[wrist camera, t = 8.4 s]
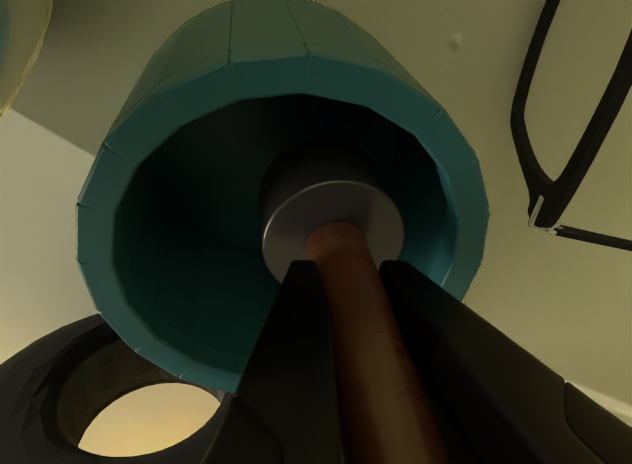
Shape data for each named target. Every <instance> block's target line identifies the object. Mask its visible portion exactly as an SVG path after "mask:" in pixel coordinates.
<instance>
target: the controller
mask: <svg viewBox="0 0 632 464" xmlns="http://www.w3.org/2000/svg"><path fill="white" fill-rule="evenodd" d="M161 383H182V384H189V385H193V386H196V387H199V388H202V389H204V390H205V391H207V392H209V393H211V394H212V395H213V396H214V397H216V398H217V399H218V401H219V402H220V403H221V405H220V407H219V408H218V409H217V411H216V412H215V414H214V415H213V416H212V417H211V419H210V420H209V421H208V422H207V423H206V424H205V425H204V426H203V427H201V428H200V429H199V430H198V431H196V432H195V433H194V434H192V435H191V436H190V437H188V438H187V439H185V440H183V441H181V442H179V443H177V444H175V445H173V446H171V447H168V448H166V449H164V450H161V451H157V452H154V453H150V454H144V455H139V456H133V457H108V456H101V455H97V454H92V453H89V452H87V451H84V450H81V449H80V448H78V444H79V442H80V440H81V438H82V436H83V434H84V432H85V430H86V429H87V428H88V426H89V425H90V424H91V422H92V421H93V420H94V419H95V418H96V416H97V415H98V414H99V413H100V412H101V411H102V410H104V409H105V408H106V407H107V406H109V405H110V404H111V403H112V402H114V401H115V400H117V399H119V398H120V397H122V396H124V395H126V394H128V393H129V392H132V391H135V390H137V389H140V388H143V387H145V386H150V385H155V384H161ZM233 397H234V393H229V392H224V391H220V390H217V389H214V388H210V387H207V386H203V385H200V384H196V383H193V382H190V381H186V380H183V379H180V378H179V376H178V377H177V376H174V375H173V374H171V373H169V372H168V371H166V370H164V369H163V368H161V367H159V366H158V365H156V364H154V363H152V362H151V361H149V360H147V359H146V358H144V357H142V356H141V355H139V354H137V353H136V352H135V350H134V349H131V348H130V347H129V346H128V345H127V344H126V343H125V342H124V340H123V339H122V338H121V337H120V336H119V335H118V334H117V333H116V332H115V331H114V330H113V328H112V327H111V326H110V325H109V324H108V323H107V322H106V321H105V320H104V319H103V318H102V316H101V315H100V314H96V315H93V316H89V317H87V318H84V319H81V320H79V321H76V322H74V323H71V324H68V325H66V326H63V327H61V328H59V329H57V330H55V331H53V332H52V333H50V334H48V335H46V336H44V337H42V338H40V339H38V340H36V341H34V342H33V343H31V344H30V345H29V346H27V347H26V348H24V349H23V350H21V351H20V352H18V353H17V354H15V355H14V356H12V357H11V358H9V359H8V360H6V361H5V362H3V363H2V364H1V365H0V464H200V463H201V461H202V459H203V457H204V456H205V454H206V452H207V450H208V448H209V446H210V444H211V442H212V440H213V438H214V436H215V434H216V432H217V430H218V428H219V426H220V423H221V421H222V419H223V417H224V415H225V413H226V410H227V408H228V406H229V403H230V401H231V399H232V398H233ZM340 450H341V463H342V464H345V462H344V457H343V452H342V447H341V441H340Z"/></svg>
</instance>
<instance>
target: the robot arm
mask: <svg viewBox="0 0 632 464" xmlns="http://www.w3.org/2000/svg"><path fill="white" fill-rule="evenodd" d="M379 274H380V277H381V279H382V282H383V285H384V287H385V290H386V292H387V295H388V298H389V300H390V303H391V306H392V308H393V311H394V314H395V316H396V319H397V321H398V324H399V327H400V329H401V332H402V335H403V337H404V340H405V343H406V345H407V348H408V350H409V353H410V356H411V358H412V361H413V364H414V366H415V369H416V371H417V374H418V377H419V379H420V382H421V385H422V387H423V390H424V393H425V395H426V398H427V400H428V403H429V406H430V408H431V411H432V414H433V416H434V419H435V421H436V424H437V427H438V429H439V432H440V435H441V437H442V440H443V443H444V445H445V448H446V450H447V453H448V456H449V458H450V461H451V464H632V428H631V427H630V426H628V425H627V424H626V423H624V422H623V421H621V420H620V419H619V418H617V417H616V416H614V415H613V414H612V413H610V412H609V411H607V410H606V409H605V408H603V407H602V406H600V405H599V404H598V403H596V402H595V401H593V400H592V399H591V398H589V397H588V396H587V395H585V394H584V393H583V392H581V391H580V390H579V389H577V388H576V387H575V386H573V385H572V384H571V383H569V382H566V383H565V380H564V378H562V377H561V376H560V375H558V374H557V373H556V372H554V371H553V370H552V369H550V368H549V367H548V366H546V365H545V364H544V363H542V362H541V361H540V360H538V359H537V358H535V357H534V356H533V355H531V354H530V353H529V352H527V351H526V350H525V349H523V348H522V347H521V346H519V345H518V344H517V343H515V342H514V341H513V340H511V339H510V338H509V337H507V336H506V335H505V334H503V333H502V332H501V331H499V330H498V329H497V328H495V327H494V326H493V325H491V324H490V323H489V322H487V321H486V320H485V319H483V318H482V317H481V316H479V315H478V314H477V313H475V312H474V311H473V310H471V309H470V308H468V307H467V306H466V305H464V304H463V303H462V302H460V301H459V300H458V299H456V298H455V297H454V296H452V295H451V294H450V293H448V292H447V291H446V290H444V289H443V288H442V287H440V286H439V285H438V284H436V283H435V282H434V281H432V280H431V279H430V278H428V277H427V276H426V275H424V274H423V273H422V272H420V271H419V270H418V269H416V268H415V267H414V266H412V265H411V264H410V263H408V262H407V261H404V260H384V261H383V262H381V264H380V267H379ZM200 464H342V463H341V450H340V436H339V422H338V409H337V395H336V381H335V367H334V354H333V340H332V326H331V313H330V305H329V301H328V298H327V294H326V291H325V288H324V285H323V282H322V279H321V276H320V273H319V270H318V267H317V264H316V262H315V261H313V260H293V261H292V262H291V263H290V265H289V268H288V270H287V272H286V275H285V277H284V279H283V282H282V284H281V286H280V289H279V291H278V293H277V295H276V298H275V300H274V302H273V305H272V307H271V309H270V312H269V314H268V316H267V319H266V321H265V323H264V326H263V328H262V330H261V332H260V335H259V337H258V339H257V342H256V344H255V346H254V349H253V351H252V353H251V356H250V358H249V360H248V363H247V365H246V367H245V369H244V372H243V374H242V376H241V379H240V381H239V383H238V386H237V388H236V390H235V393H234V397H233V398H232V399H231V401H230V403H229V406H228V408H227V410H226V413H225V415H224V417H223V419H222V421H221V423H220V426H219V428H218V430H217V432H216V434H215V436H214V438H213V440H212V442H211V444H210V446H209V448H208V450H207V452H206V454H205V456H204V457H203V459H202V461H201V463H200Z"/></svg>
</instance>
